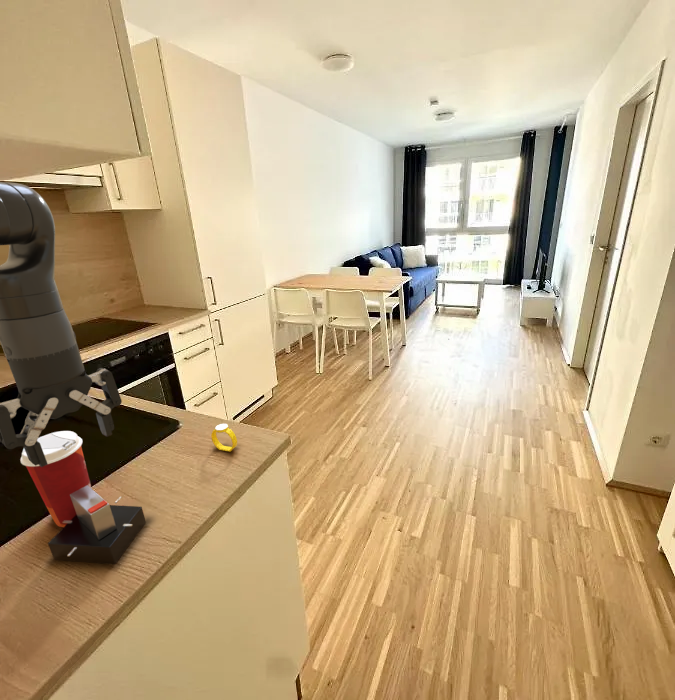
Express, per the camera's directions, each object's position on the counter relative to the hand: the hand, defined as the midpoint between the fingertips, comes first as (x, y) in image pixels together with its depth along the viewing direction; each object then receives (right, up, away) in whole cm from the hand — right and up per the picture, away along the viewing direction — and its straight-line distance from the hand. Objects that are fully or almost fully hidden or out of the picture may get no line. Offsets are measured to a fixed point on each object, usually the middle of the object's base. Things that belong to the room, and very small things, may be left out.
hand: (76, 448), depth 53 cm
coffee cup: (-8, -15, +11) cm, 20 cm away
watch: (+14, -8, +28) cm, 32 cm away
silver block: (0, -13, +4) cm, 14 cm away
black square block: (0, -17, +5) cm, 17 cm away
